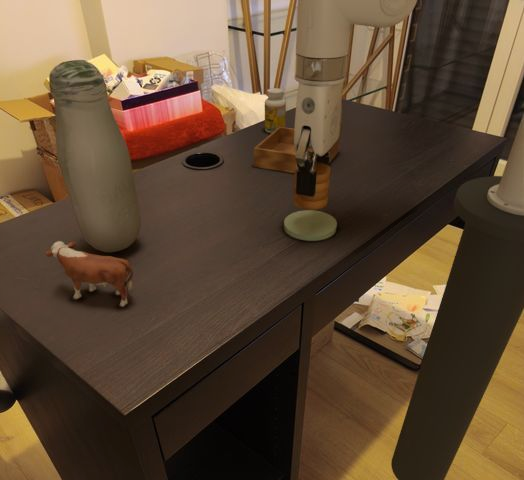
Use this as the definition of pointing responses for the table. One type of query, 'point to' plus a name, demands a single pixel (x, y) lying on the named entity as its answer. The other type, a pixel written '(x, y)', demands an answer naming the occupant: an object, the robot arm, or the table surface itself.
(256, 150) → the wooden box
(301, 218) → the plate
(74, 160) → the grey green bottle
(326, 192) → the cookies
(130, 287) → the bull figurine
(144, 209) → the table surface
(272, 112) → the supplement bottle
